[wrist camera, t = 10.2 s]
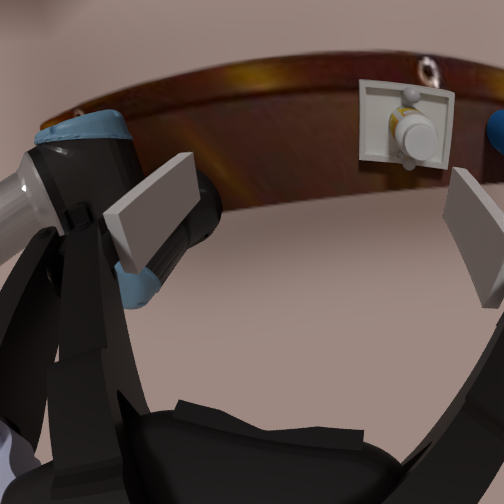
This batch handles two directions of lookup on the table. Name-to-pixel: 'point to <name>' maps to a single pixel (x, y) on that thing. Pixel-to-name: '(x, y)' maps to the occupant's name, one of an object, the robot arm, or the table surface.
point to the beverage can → (496, 131)
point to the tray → (380, 108)
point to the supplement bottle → (413, 133)
